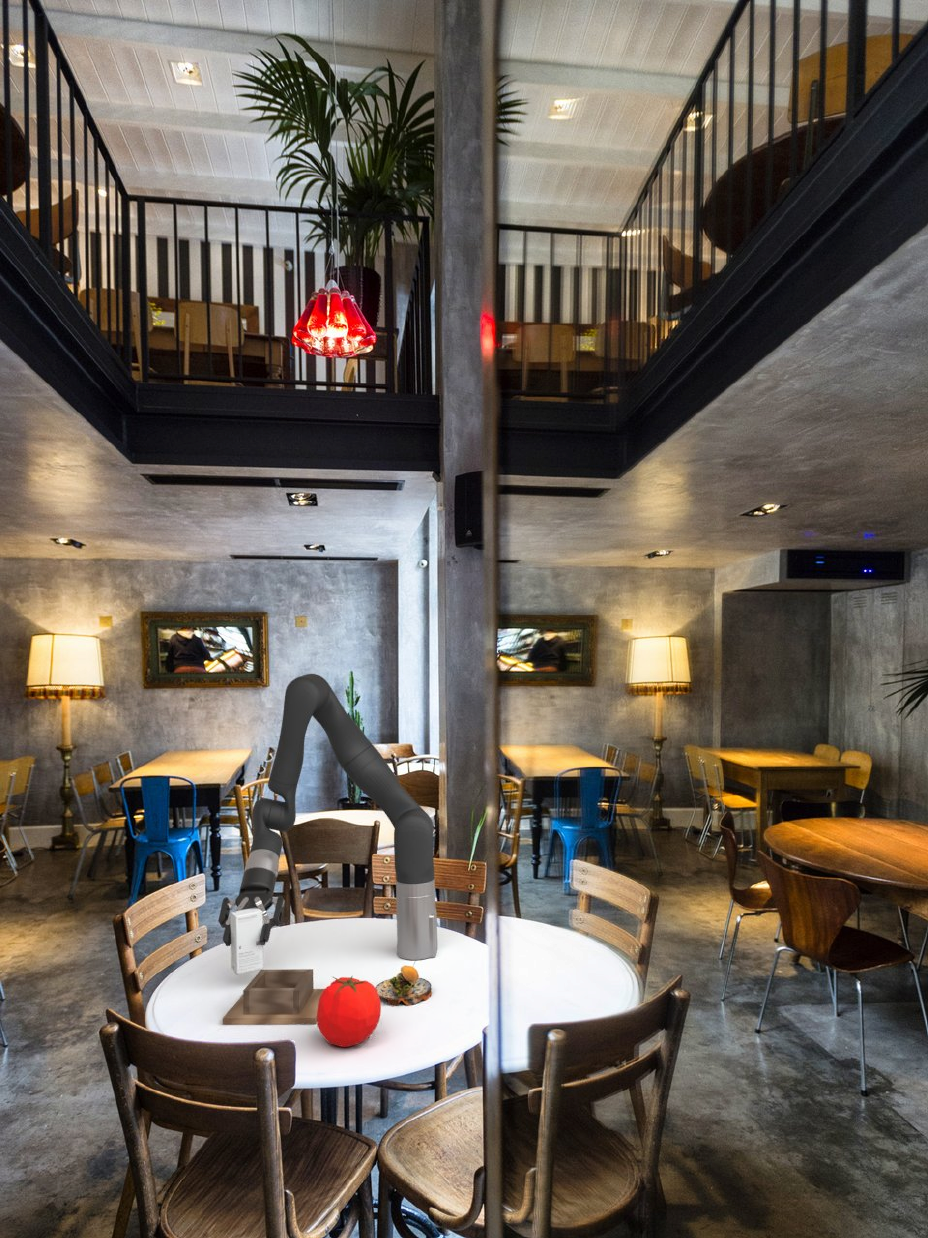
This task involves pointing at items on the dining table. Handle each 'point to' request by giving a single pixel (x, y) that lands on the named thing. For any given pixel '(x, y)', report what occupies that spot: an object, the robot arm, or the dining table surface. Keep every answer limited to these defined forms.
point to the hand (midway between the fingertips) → (244, 944)
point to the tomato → (348, 1011)
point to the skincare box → (246, 940)
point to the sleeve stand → (277, 999)
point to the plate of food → (405, 988)
